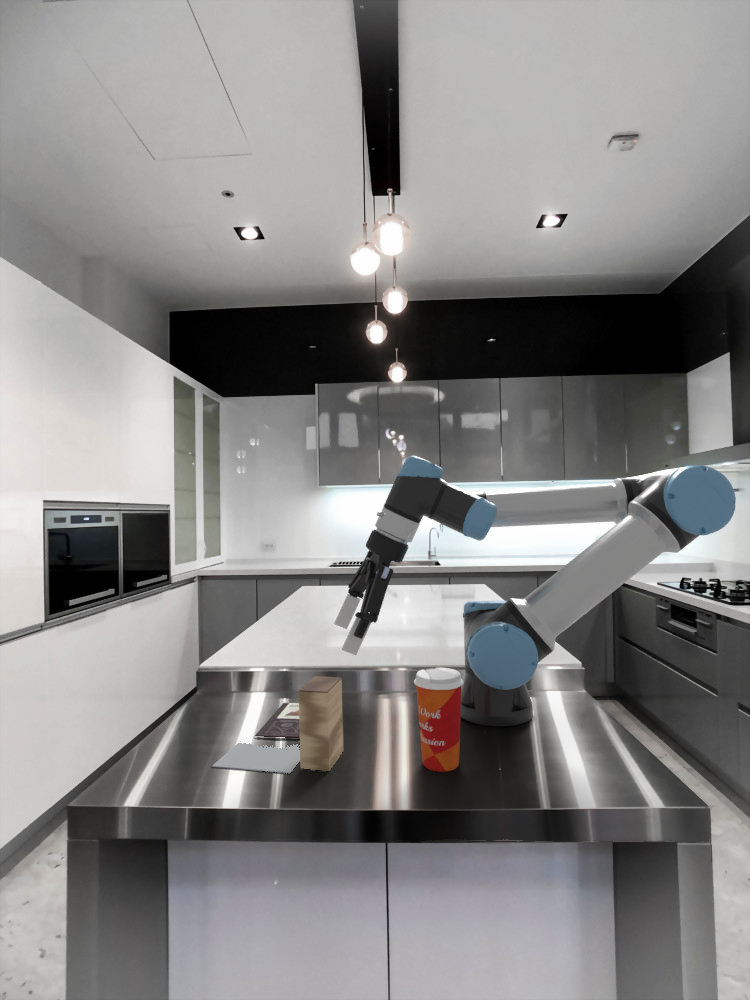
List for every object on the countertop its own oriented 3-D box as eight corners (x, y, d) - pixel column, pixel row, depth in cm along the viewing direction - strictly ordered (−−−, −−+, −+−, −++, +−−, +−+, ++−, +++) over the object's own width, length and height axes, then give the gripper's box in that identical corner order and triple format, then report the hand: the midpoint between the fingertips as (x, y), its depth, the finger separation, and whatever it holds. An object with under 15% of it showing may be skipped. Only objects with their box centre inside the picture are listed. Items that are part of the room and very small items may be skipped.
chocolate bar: (254, 735, 108) (283, 702, 126) (255, 740, 108) (283, 707, 126) (301, 736, 107) (323, 703, 125) (301, 742, 107) (323, 708, 125)
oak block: (343, 751, 102) (341, 677, 102) (329, 771, 94) (327, 691, 94) (316, 749, 103) (314, 676, 103) (300, 769, 95) (298, 690, 95)
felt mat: (315, 743, 105) (314, 742, 105) (290, 773, 93) (290, 772, 93) (244, 738, 108) (244, 737, 108) (212, 766, 97) (212, 765, 97)
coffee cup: (408, 758, 98) (405, 670, 98) (450, 749, 101) (448, 664, 101) (429, 779, 90) (427, 683, 90) (475, 769, 93) (473, 676, 93)
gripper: (363, 518, 119) (321, 610, 120) (386, 540, 94) (332, 657, 95) (395, 532, 120) (353, 623, 121) (426, 558, 96) (373, 672, 97)
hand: (344, 638), depth 108 cm, fingers open, 13 cm apart
